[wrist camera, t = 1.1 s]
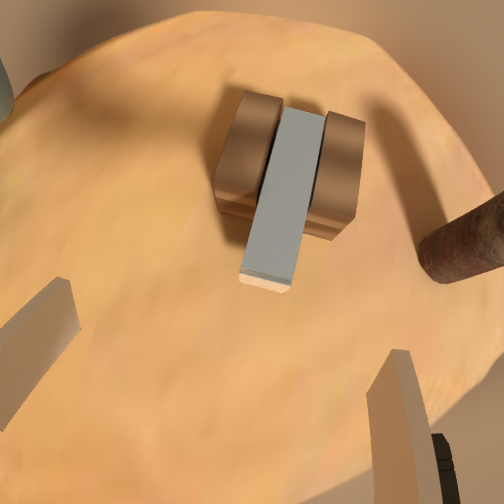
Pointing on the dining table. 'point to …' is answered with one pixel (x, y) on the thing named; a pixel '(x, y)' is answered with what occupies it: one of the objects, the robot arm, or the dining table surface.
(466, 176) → the dining table surface
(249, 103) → the guide block
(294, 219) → the peg
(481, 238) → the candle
